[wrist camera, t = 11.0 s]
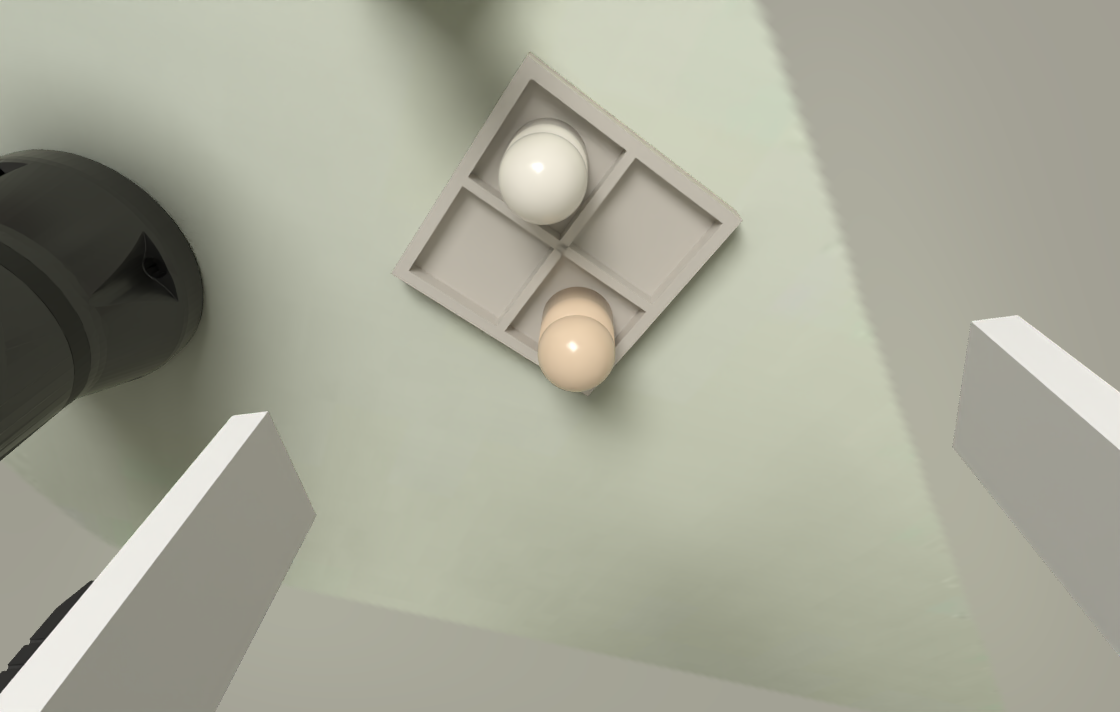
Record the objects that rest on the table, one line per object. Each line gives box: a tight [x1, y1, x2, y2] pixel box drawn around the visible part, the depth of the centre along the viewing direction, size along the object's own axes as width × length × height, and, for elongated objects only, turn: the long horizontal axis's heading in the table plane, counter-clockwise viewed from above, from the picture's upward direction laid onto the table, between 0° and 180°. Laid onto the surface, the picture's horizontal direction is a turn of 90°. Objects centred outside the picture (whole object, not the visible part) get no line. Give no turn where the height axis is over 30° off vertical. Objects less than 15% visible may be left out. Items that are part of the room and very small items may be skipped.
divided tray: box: [391, 52, 743, 396], centre depth 40 cm, size 15×15×2 cm
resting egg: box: [498, 118, 588, 225], centre depth 35 cm, size 5×5×7 cm
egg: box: [538, 287, 616, 392], centre depth 40 cm, size 5×5×7 cm
